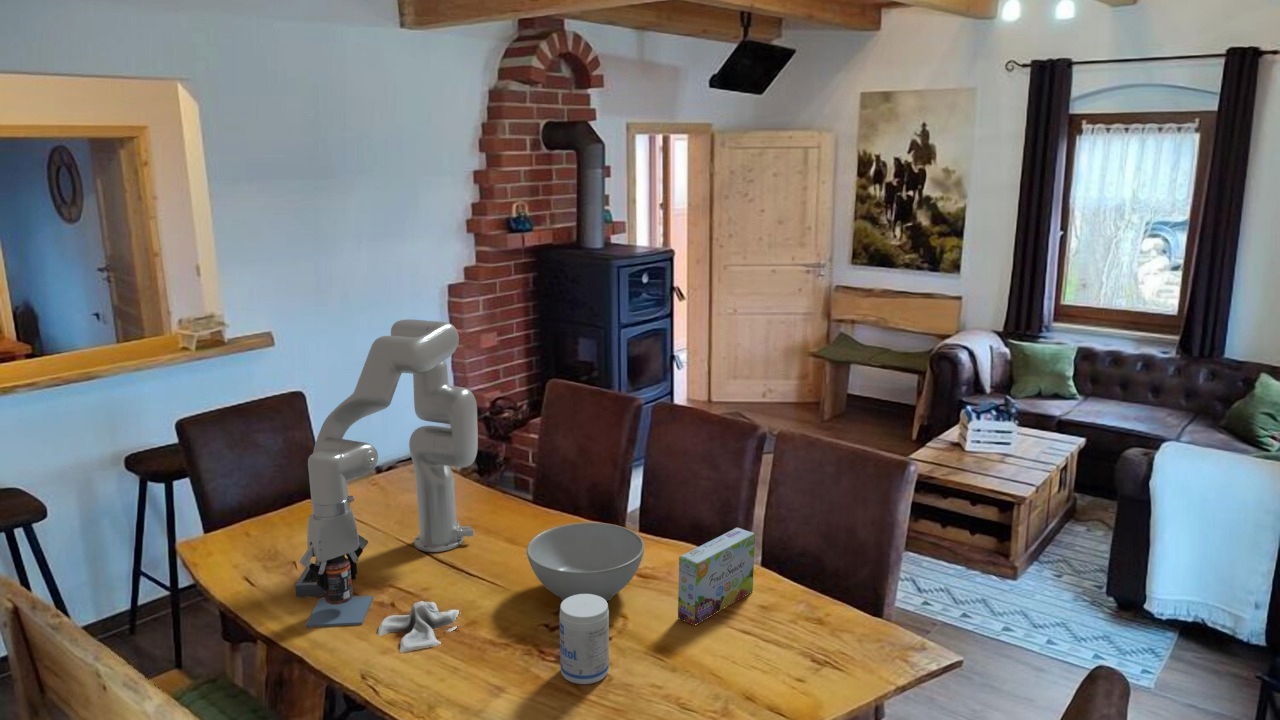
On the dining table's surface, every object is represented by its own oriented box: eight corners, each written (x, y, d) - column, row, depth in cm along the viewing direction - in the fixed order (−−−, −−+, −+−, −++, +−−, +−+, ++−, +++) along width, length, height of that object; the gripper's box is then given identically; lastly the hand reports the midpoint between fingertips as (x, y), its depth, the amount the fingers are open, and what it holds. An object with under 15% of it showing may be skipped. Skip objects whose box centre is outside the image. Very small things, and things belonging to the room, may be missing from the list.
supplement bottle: (355, 601, 201) (351, 554, 198) (327, 608, 198) (323, 560, 195) (350, 590, 206) (346, 544, 203) (323, 596, 203) (318, 550, 201)
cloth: (416, 663, 183) (414, 635, 182) (358, 635, 194) (355, 609, 193) (494, 617, 201) (493, 591, 200) (437, 594, 212) (435, 570, 210)
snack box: (696, 628, 195) (697, 563, 191) (676, 619, 198) (676, 555, 195) (754, 592, 210) (756, 531, 206) (735, 584, 213) (736, 525, 210)
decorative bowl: (504, 596, 209) (502, 547, 206) (588, 557, 228) (587, 512, 225) (585, 637, 191) (583, 585, 188) (668, 592, 210) (668, 543, 208)
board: (373, 597, 209) (373, 595, 209) (362, 624, 197) (361, 622, 197) (320, 600, 208) (319, 598, 208) (305, 627, 196) (305, 624, 196)
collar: (350, 575, 220) (349, 564, 219) (340, 595, 210) (339, 583, 210) (307, 577, 219) (306, 566, 219) (295, 597, 210) (294, 585, 209)
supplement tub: (550, 674, 178) (548, 606, 175) (584, 653, 185) (582, 587, 182) (586, 692, 172) (584, 622, 169) (619, 670, 179) (618, 602, 176)
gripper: (359, 491, 205) (365, 565, 210) (284, 513, 194) (292, 590, 198) (375, 500, 200) (381, 575, 204) (299, 523, 188) (307, 602, 193)
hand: (337, 582), depth 201 cm, fingers closed on supplement bottle, 6 cm apart
